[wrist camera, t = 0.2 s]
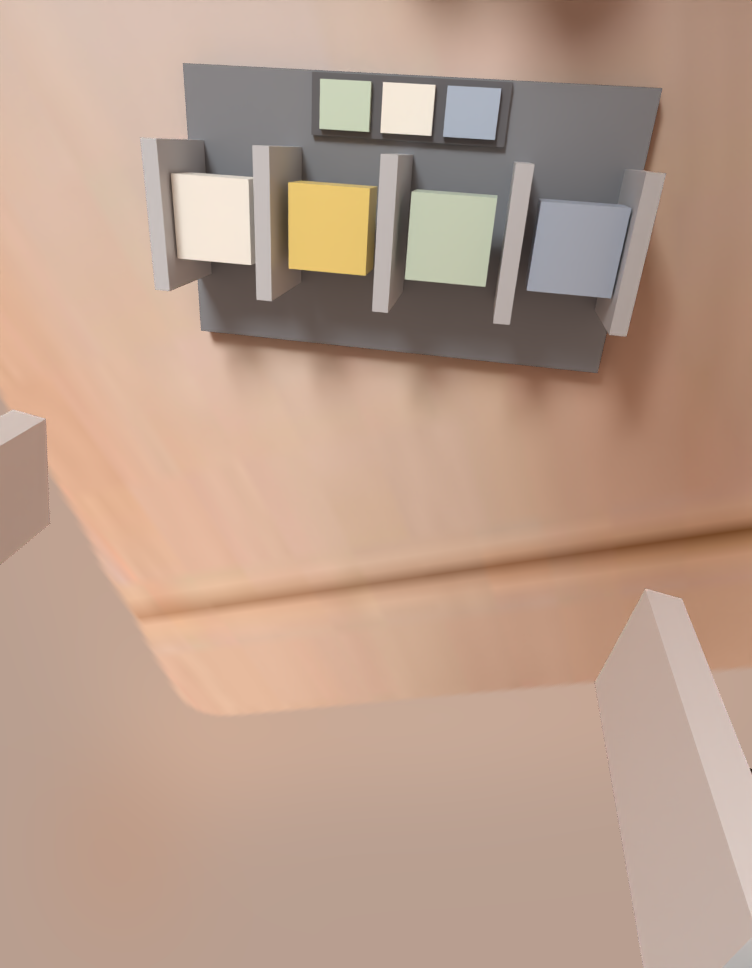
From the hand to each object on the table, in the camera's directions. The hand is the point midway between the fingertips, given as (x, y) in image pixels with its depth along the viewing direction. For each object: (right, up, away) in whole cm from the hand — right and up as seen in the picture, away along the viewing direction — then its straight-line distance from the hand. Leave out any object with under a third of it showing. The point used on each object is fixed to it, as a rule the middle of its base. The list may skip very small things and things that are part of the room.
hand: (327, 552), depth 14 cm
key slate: (+11, +13, +18) cm, 25 cm away
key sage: (+5, +14, +19) cm, 24 cm away
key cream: (-7, +16, +20) cm, 27 cm away
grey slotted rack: (+3, +16, +22) cm, 27 cm away
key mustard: (-1, +15, +20) cm, 25 cm away
